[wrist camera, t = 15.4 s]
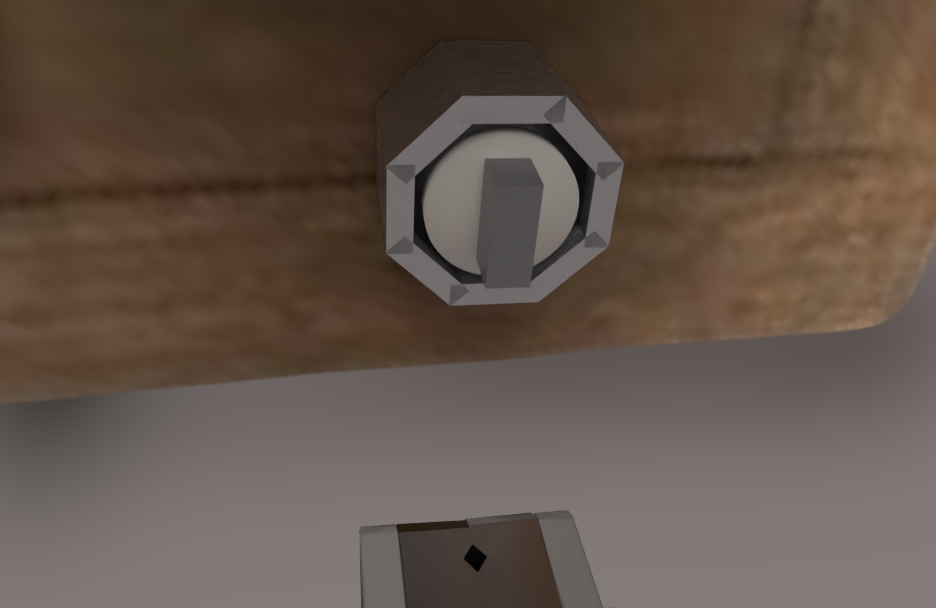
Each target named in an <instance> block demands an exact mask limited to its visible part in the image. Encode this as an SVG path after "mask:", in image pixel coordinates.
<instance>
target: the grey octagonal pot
mask: <svg viewBox="0 0 936 608" xmlns="http://www.w3.org/2000/svg"><path fill="white" fill-rule="evenodd" d="M375 105H376V188H377V195H378V202H379V209H380V217H381V224H382V231H383V238H384V245H385V252H386V254H388V255H389V256H390V257H391V258H393V259H394V260H395V261H396V262H397V263H399V264H400V265H401V266H402V267H404V268H405V269H406V270H407V271H408V272H410V273H411V274H412V275H413V276H415V277H416V278H417V279H418V280H419V281H421V282H422V283H423V284H424V285H426V286H427V287H428V288H429V289H430V290H432V291H433V292H434V293H435V294H436V295H438V296H439V297H440V298H441V299H443V300H444V301H445V302H446V303H447V304H449V306H457V305H481V304H505V303H529V302H537V303H538V302H539V301H540V300H542V299H543V298H544V297H545V296H547V295H548V294H549V293H550V292H552V291H553V290H554V289H555V288H557V287H558V286H559V285H561V284H562V283H563V282H564V281H566V280H567V279H568V278H569V277H571V276H572V275H573V274H574V273H576V272H577V271H578V270H579V269H581V268H582V267H583V266H584V265H586V264H587V263H588V262H590V261H591V260H592V259H593V258H595V257H596V256H597V255H598V254H600V253H601V252H602V251H603V250H605V249H606V248H607V247H609V241H610V236H611V230H612V225H613V219H614V214H615V209H616V203H617V198H618V192H619V187H620V182H621V176H622V171H623V165H624V161H623V159H622V158H621V156H620V155H619V153H618V152H617V151H616V149H615V148H614V146H613V145H612V143H611V142H610V140H609V139H608V138H607V136H606V135H605V133H604V132H603V130H602V129H601V128H600V126H599V125H598V123H597V122H596V120H595V119H594V117H593V116H592V115H591V113H590V112H589V110H588V109H587V107H586V106H585V105H584V103H583V102H582V101H581V100H580V99H579V98H578V97H577V96H576V94H575V93H574V92H573V91H572V90H571V89H570V87H569V86H568V85H567V84H566V83H565V82H564V81H563V79H562V78H561V77H560V76H559V75H558V74H557V72H556V71H555V70H554V69H553V68H552V67H551V65H550V64H549V63H548V62H547V61H546V60H545V59H544V57H543V56H542V55H541V54H540V53H539V52H538V50H537V49H536V48H535V47H534V46H533V44H532V43H531V41H474V40H439V42H438V43H437V44H436V45H435V46H434V47H433V48H432V49H431V50H430V51H429V52H427V53H426V54H425V55H424V56H423V57H422V58H421V59H420V60H419V61H418V62H417V63H416V64H415V65H414V66H413V67H412V68H411V69H410V70H409V71H408V72H407V73H406V74H405V75H403V76H402V77H401V78H400V79H399V80H398V81H397V82H396V83H395V84H394V85H393V86H392V87H391V88H390V89H389V90H388V91H387V92H386V93H385V94H384V95H383V96H382V97H381V98H379V99H378V100H377V101H376V102H375ZM499 125H510V126H519V127H524V128H527V129H530V130H533V131H535V132H537V133H539V134H541V135H543V136H545V137H546V138H547V139H549V140H550V141H551V142H552V143H554V144H555V145H556V146H557V147H558V149H559V150H560V151H561V153H562V154H563V155H564V157H565V159H566V161H567V162H568V164H569V166H570V168H571V170H572V171H573V173H574V176H575V178H576V181H577V185H578V190H579V207H578V212H577V216H576V219H575V222H574V225H573V227H572V229H571V231H570V233H569V234H568V236H567V237H566V239H565V240H564V242H563V243H562V244H561V245H560V246H559V247H558V248H557V250H555V251H554V252H553V253H552V254H551V255H550V256H548V257H547V258H546V259H544V260H543V261H541V262H540V263H538V264H536V265H534V266H533V269H532V276H531V284H530V287H524V288H491V289H485V286H484V283H483V279H482V276H481V275H480V274H475V273H471V272H467V271H465V270H462V269H460V268H458V267H456V266H455V265H453V264H451V263H450V262H448V261H447V260H446V259H445V258H444V257H443V256H442V255H441V254H440V253H439V252H438V251H437V250H436V248H435V247H434V246H433V244H432V242H431V240H430V238H429V236H428V233H427V230H426V227H425V222H424V218H423V213H422V207H421V196H422V188H423V184H424V181H425V178H426V176H427V173H428V171H429V169H430V167H431V166H432V164H433V162H434V161H435V160H436V158H437V157H438V156H439V155H440V154H441V153H442V152H443V151H444V150H445V149H446V148H447V147H448V146H449V145H450V144H452V143H453V142H454V141H455V140H457V139H459V138H460V137H462V136H464V135H466V134H468V133H470V132H472V131H475V130H478V129H481V128H485V127H490V126H499Z"/></svg>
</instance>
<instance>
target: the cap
mask: <svg viewBox="0 0 936 608" xmlns="http://www.w3.org/2000/svg"><path fill="white" fill-rule="evenodd" d="M421 207H422V213H423V218H424V222H425V227H426V230H427V233H428V236H429V238H430V240H431V242H432V244H433V246H434V247H435V248H436V250H437V251H438V252H439V253H440V254H441V255H442V256H443V257H444V258H445V259H446V260H447V261H448V262H450V263H451V264H453V265H455V266H456V267H458V268H460V269H462V270H465V271H467V272H471V273H475V274H480V275H481V276H482V279H483V283H484V286H485V289H491V288H524V287H530V284H531V276H532V269H533V266H534V265H536V264H538V263H540V262H541V261H543V260H544V259H546V258H547V257H548V256H550V255H551V254H552V253H553V252H554V251H555V250H557V248H558V247H559V246H560V245H561V244H562V243H563V242H564V240H565V239H566V237H567V236H568V234H569V233H570V231H571V229H572V227H573V225H574V222H575V219H576V216H577V212H578V207H579V190H578V185H577V181H576V178H575V176H574V173H573V171H572V170H571V168H570V166H569V164H568V162H567V161H566V159H565V157H564V155H563V154H562V153H561V151H560V150H559V149H558V147H557V146H556V145H555V144H554V143H552V142H551V141H550V140H549V139H547V138H546V137H545V136H543V135H541V134H539V133H537V132H535V131H533V130H530V129H527V128H524V127H519V126H510V125H499V126H490V127H485V128H481V129H478V130H475V131H472V132H470V133H468V134H466V135H464V136H462V137H460V138H459V139H457V140H455V141H454V142H453V143H452V144H450V145H449V146H448V147H447V148H446V149H445V150H444V151H443V152H442V153H441V154H440V155H439V156H438V157H437V158H436V160H435V161H434V162H433V164H432V166H431V167H430V169H429V171H428V173H427V176H426V178H425V181H424V184H423V188H422V196H421Z"/></svg>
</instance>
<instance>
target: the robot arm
mask: <svg viewBox="0 0 936 608" xmlns="http://www.w3.org/2000/svg"><path fill="white" fill-rule="evenodd" d="M360 574H361V608H603V606H602V603H601V600H600V597H599V594H598V591H597V588H596V585H595V582H594V579H593V576H592V573H591V570H590V567H589V564H588V561H587V558H586V555H585V552H584V549H583V546H582V543H581V540H580V537H579V534H578V531H577V528H576V525H575V522H574V519H573V516H572V515H571V514H570V513H569V511H554V512H543V513H534V514H532V513H522V514H513V515H501V516H491V517H481V518H470V519H465V520H463V521H444V522H427V523H409V524H397V526H396V525H395V524H394V525H379V526H366V527H360Z"/></svg>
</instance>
